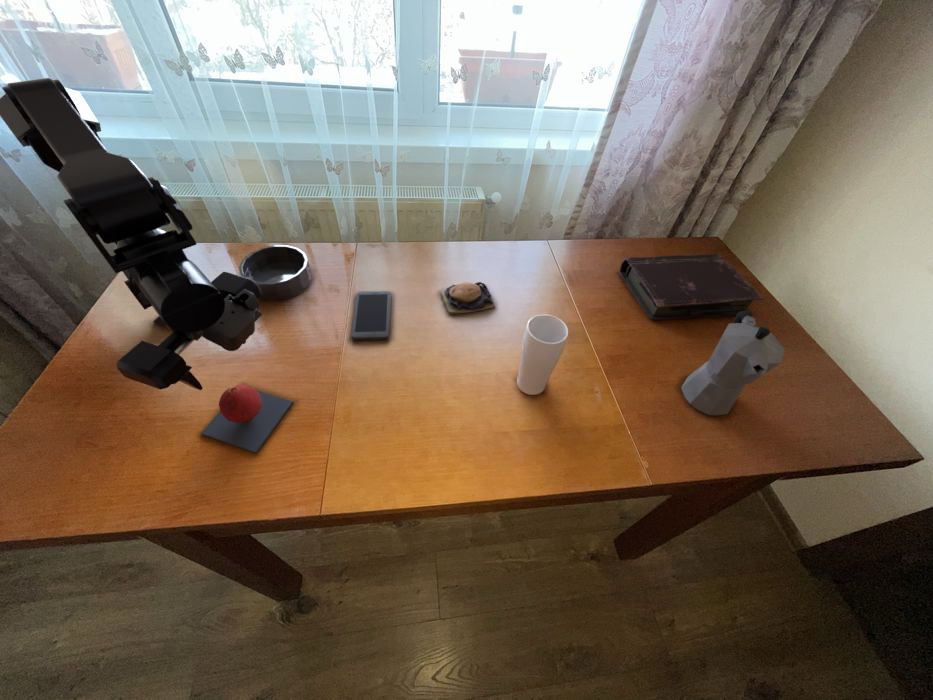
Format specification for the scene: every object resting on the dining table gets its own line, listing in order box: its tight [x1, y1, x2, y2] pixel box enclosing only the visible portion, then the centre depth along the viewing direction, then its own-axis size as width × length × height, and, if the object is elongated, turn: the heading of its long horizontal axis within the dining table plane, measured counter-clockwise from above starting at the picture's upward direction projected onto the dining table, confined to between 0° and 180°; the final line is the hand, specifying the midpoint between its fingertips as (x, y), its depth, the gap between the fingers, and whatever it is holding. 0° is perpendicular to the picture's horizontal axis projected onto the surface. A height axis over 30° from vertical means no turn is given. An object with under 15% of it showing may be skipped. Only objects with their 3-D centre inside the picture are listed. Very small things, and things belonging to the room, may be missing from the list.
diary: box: [618, 253, 763, 320], centre depth 93 cm, size 19×25×5 cm
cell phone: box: [351, 290, 392, 341], centre depth 83 cm, size 7×14×1 cm, turn 6°
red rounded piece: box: [218, 384, 262, 423], centre depth 63 cm, size 6×6×8 cm
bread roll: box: [440, 281, 495, 315], centre depth 87 cm, size 11×8×4 cm
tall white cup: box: [516, 313, 569, 396], centre depth 69 cm, size 7×7×15 cm
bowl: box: [238, 244, 313, 302], centre depth 87 cm, size 14×14×4 cm
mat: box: [200, 389, 294, 454], centre depth 66 cm, size 10×10×1 cm
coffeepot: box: [680, 309, 786, 417], centre depth 69 cm, size 15×9×18 cm, turn 162°
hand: (221, 364), depth 59 cm, fingers open, 9 cm apart
